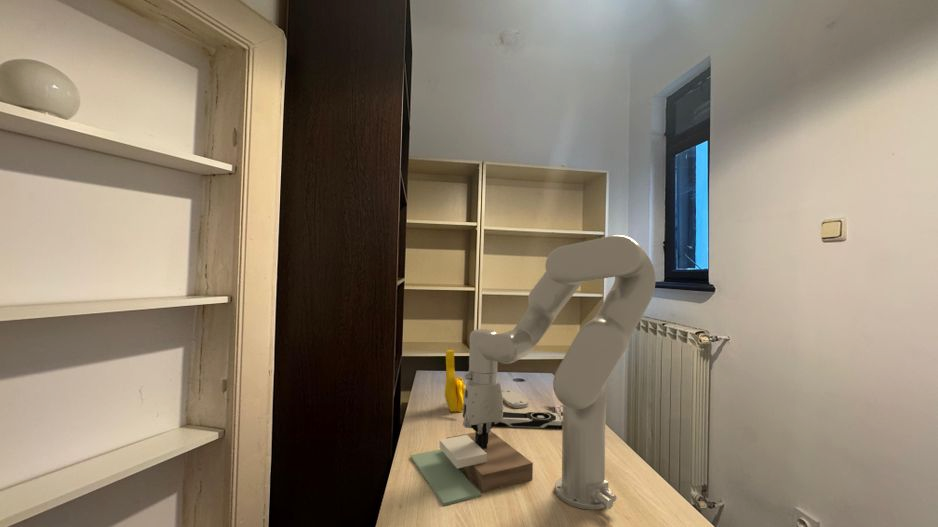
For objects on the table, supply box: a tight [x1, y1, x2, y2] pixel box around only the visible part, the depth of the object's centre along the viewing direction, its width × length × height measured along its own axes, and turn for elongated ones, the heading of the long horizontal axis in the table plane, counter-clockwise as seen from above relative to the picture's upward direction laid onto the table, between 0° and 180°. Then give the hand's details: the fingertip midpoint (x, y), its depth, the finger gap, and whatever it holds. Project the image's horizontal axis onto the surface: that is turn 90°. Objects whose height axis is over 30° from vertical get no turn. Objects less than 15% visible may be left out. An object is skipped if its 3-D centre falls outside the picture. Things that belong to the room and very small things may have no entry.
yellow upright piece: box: [444, 349, 466, 413], centre depth 142 cm, size 18×8×22 cm, turn 9°
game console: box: [501, 389, 529, 409], centre depth 153 cm, size 18×2×8 cm
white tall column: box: [551, 390, 563, 424], centre depth 137 cm, size 6×6×25 cm
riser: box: [445, 429, 534, 493], centre depth 101 cm, size 22×14×4 cm, turn 26°
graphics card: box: [492, 410, 562, 430], centre depth 130 cm, size 10×3×25 cm
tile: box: [439, 434, 487, 469], centre depth 98 cm, size 12×8×2 cm, turn 25°
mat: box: [410, 448, 481, 507], centre depth 95 cm, size 24×9×1 cm, turn 26°
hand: (481, 446), depth 101 cm, fingers closed
